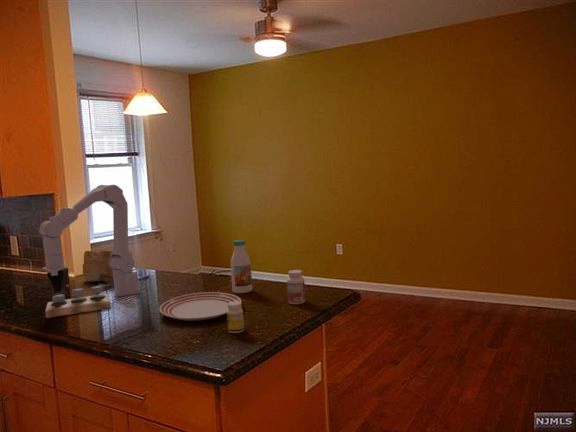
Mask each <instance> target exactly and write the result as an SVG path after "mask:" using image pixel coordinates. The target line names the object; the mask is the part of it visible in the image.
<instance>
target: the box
mask: <svg viewBox="0 0 576 432" xmlns="http://www.w3.org/2000/svg"><path fill="white" fill-rule="evenodd" d="M61 270H65V272H64V275H63V278H62V289H61V291H60V292H55V291H54V289H53V286H52V285H51V286H52V287H51V288H52V296H55V295H60V294H63V295H64V296H65V299H70V298H71V296H72V294H71V284H70V276H69V273H70V272H69V268H68V266H65V267H64V268H63V269H61Z"/></svg>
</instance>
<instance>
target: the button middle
mask: <svg viewBox="0 0 576 432" xmlns="http://www.w3.org/2000/svg"><path fill="white" fill-rule="evenodd" d="M84 295H85V291H84V288H82V287H81V288H75V289H72V290H71V296H72V297H73V298H79V297H83V296H84Z"/></svg>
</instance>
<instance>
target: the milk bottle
mask: <svg viewBox="0 0 576 432" xmlns="http://www.w3.org/2000/svg"><path fill="white" fill-rule="evenodd" d="M232 243H233V247H234V250H233V253H232V256H231V258H230V273H231V274H230V275H231V290H232V292H233V293H234V294H247V293H249V292H252V291H253V280H252V265H251V264H252V263H251V259H250V256H249V254H248V252H247V250H246V240H245V239H236V240H233V241H232Z"/></svg>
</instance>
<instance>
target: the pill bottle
mask: <svg viewBox="0 0 576 432" xmlns="http://www.w3.org/2000/svg"><path fill="white" fill-rule="evenodd" d="M302 275H303V271H302V270H300V269H293V270H289V271H288V278H287V279H286V290H287V302H288V304H290V305H302V304H304V303H305V302H306V287H305V285H306V284H305V278H304V277H303V276H302Z"/></svg>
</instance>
